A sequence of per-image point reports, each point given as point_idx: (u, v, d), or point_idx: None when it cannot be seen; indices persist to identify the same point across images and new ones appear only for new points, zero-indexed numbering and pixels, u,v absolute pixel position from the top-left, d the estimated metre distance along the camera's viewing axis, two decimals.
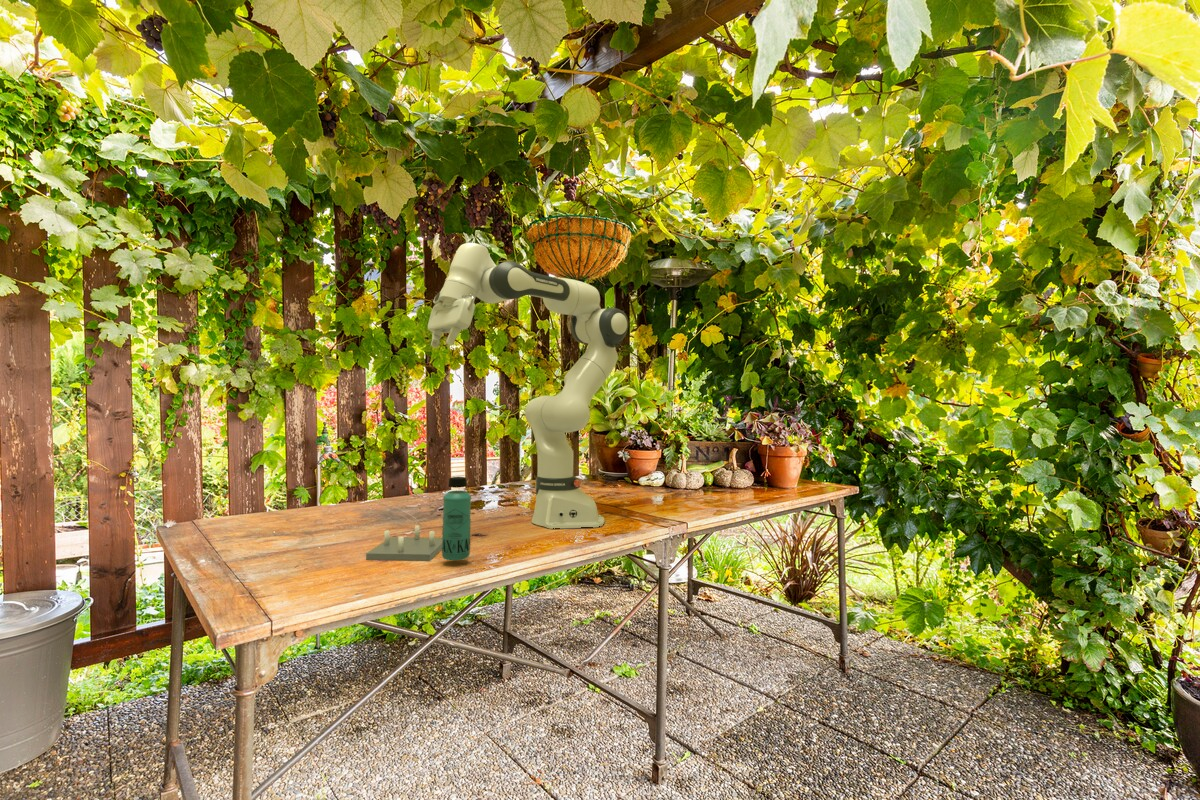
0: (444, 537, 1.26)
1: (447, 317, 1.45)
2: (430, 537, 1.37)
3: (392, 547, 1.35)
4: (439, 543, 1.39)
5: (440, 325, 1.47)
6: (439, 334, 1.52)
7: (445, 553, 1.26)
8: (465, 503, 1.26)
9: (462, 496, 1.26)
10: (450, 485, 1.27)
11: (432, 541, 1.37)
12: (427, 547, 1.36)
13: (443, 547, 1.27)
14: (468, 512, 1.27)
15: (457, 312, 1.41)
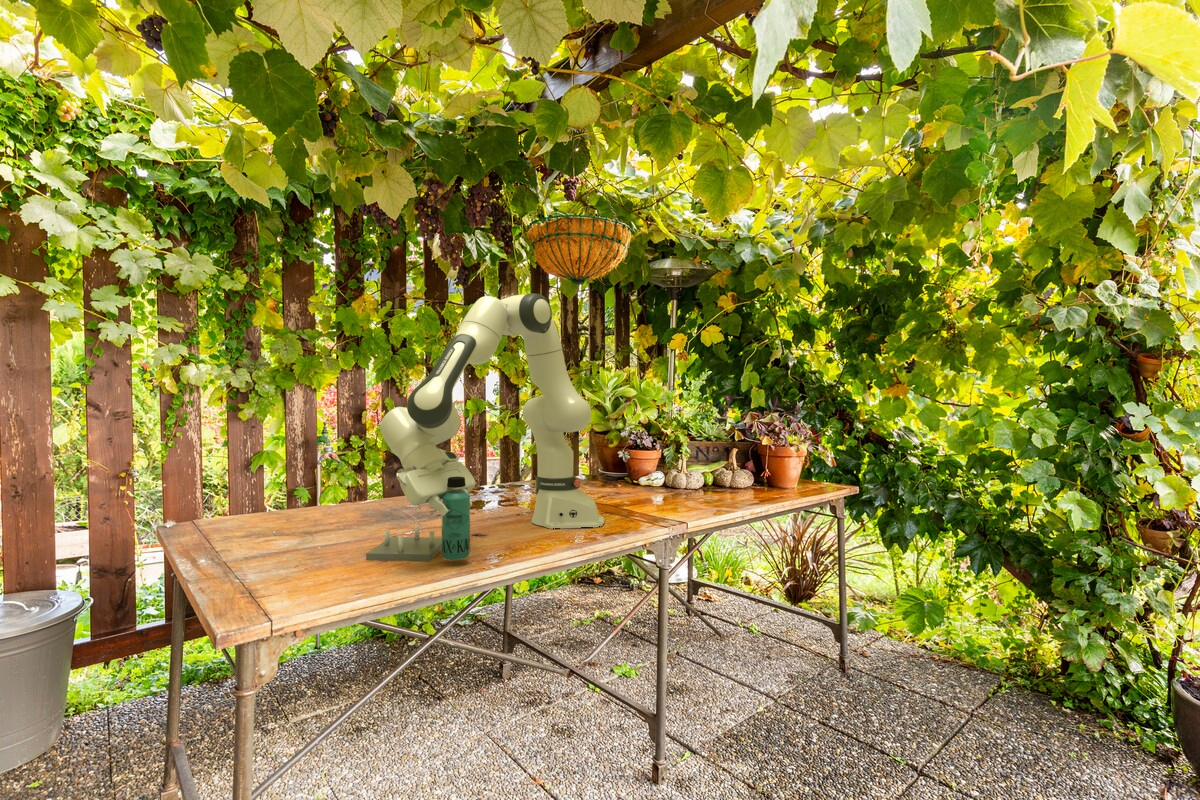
0: (444, 537, 1.26)
1: None
2: (430, 537, 1.37)
3: (392, 547, 1.35)
4: (439, 543, 1.39)
5: None
6: None
7: (445, 553, 1.26)
8: (464, 503, 1.26)
9: (461, 496, 1.26)
10: (449, 485, 1.26)
11: (432, 541, 1.37)
12: (427, 547, 1.36)
13: None
14: (467, 512, 1.27)
15: None
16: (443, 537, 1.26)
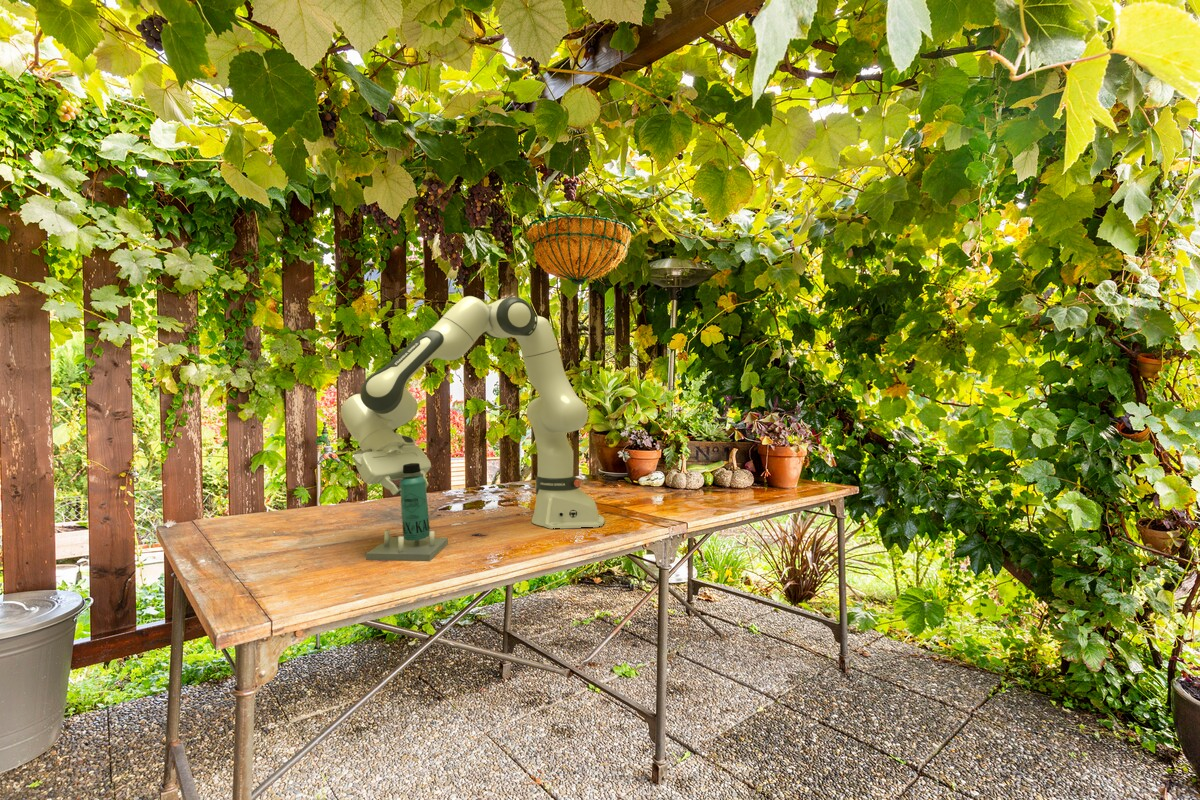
0: (403, 520, 1.36)
1: None
2: (430, 537, 1.37)
3: (392, 547, 1.35)
4: (439, 543, 1.39)
5: None
6: (419, 474, 1.42)
7: (405, 534, 1.36)
8: (419, 487, 1.36)
9: (416, 481, 1.36)
10: (404, 472, 1.36)
11: (432, 541, 1.37)
12: (427, 547, 1.36)
13: (403, 529, 1.36)
14: (423, 495, 1.37)
15: None
16: (403, 520, 1.36)
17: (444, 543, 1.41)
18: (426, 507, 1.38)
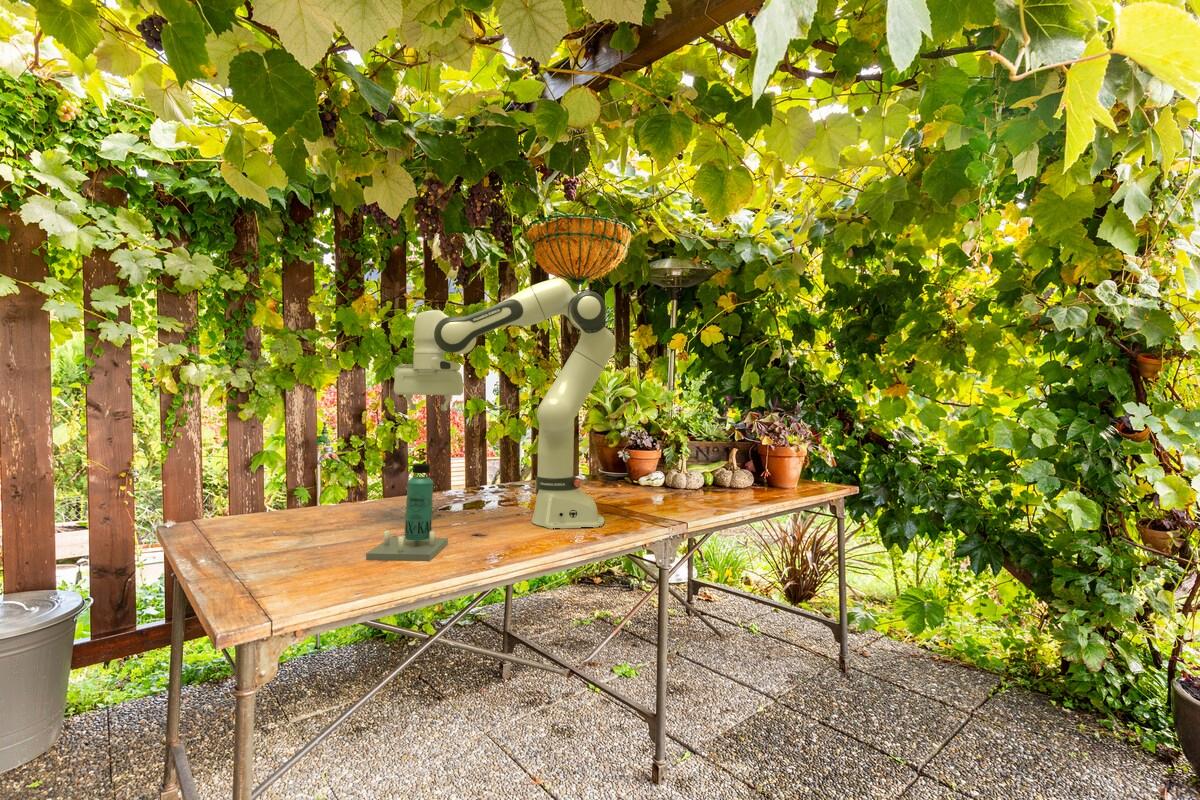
0: (406, 519, 1.37)
1: None
2: (430, 537, 1.37)
3: (392, 547, 1.35)
4: (439, 543, 1.39)
5: None
6: None
7: (407, 533, 1.36)
8: (426, 488, 1.36)
9: (424, 481, 1.36)
10: (413, 471, 1.37)
11: (432, 541, 1.37)
12: (427, 547, 1.36)
13: (405, 528, 1.37)
14: (429, 496, 1.38)
15: None
16: (406, 519, 1.37)
17: (444, 543, 1.41)
18: (430, 509, 1.38)
